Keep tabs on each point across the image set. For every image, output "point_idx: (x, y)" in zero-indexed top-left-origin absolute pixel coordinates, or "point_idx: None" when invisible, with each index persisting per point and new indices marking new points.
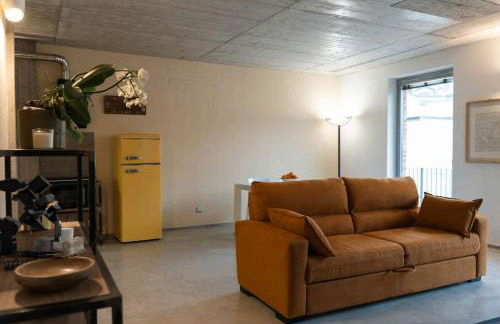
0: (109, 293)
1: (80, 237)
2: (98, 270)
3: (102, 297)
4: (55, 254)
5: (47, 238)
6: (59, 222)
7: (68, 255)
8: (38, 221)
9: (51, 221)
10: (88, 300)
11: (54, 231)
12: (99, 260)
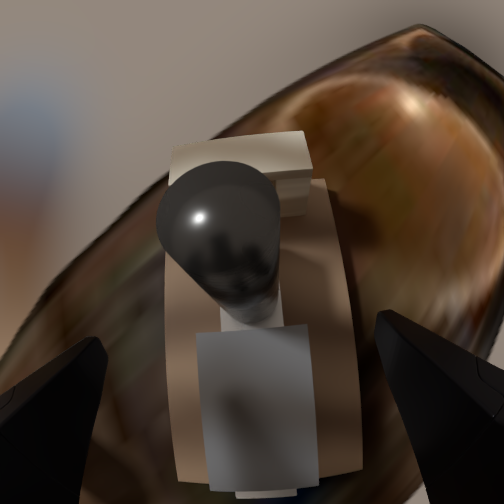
0: (422, 28)
1: (189, 150)
2: (367, 55)
3: (434, 32)
4: (336, 250)
5: (263, 398)
6: (238, 171)
7: (316, 180)
8: (500, 370)
9: (76, 484)
10: (450, 40)
11: (275, 283)
12: (292, 84)
